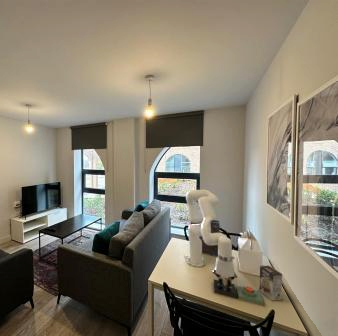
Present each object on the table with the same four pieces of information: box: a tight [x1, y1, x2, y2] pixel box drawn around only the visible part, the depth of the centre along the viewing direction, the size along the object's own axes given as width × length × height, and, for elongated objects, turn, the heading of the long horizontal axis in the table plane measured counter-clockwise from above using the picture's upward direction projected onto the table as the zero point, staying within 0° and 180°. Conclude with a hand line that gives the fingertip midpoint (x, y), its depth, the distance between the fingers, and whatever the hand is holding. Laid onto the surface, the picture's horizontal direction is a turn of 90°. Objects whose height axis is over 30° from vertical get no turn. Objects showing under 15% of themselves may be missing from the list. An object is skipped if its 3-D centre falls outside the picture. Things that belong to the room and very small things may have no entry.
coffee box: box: [259, 265, 283, 301], centre depth 115 cm, size 9×6×16 cm
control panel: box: [213, 279, 238, 299], centre depth 120 cm, size 12×10×3 cm
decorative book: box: [189, 219, 221, 258], centre depth 168 cm, size 23×7×30 cm, turn 62°
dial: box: [221, 276, 229, 288], centre depth 120 cm, size 4×4×5 cm
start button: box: [244, 285, 254, 293], centre depth 114 cm, size 4×4×2 cm
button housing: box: [235, 285, 265, 306], centre depth 115 cm, size 12×10×4 cm
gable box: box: [237, 227, 263, 277], centre depth 145 cm, size 22×13×28 cm, turn 149°
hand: (224, 284), depth 120 cm, fingers closed on dial, 4 cm apart
